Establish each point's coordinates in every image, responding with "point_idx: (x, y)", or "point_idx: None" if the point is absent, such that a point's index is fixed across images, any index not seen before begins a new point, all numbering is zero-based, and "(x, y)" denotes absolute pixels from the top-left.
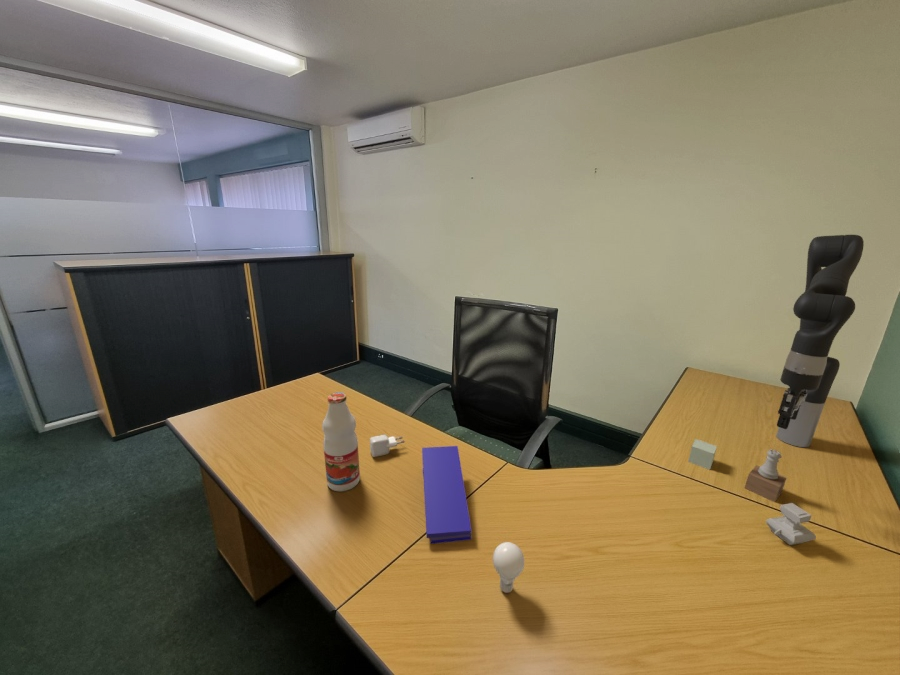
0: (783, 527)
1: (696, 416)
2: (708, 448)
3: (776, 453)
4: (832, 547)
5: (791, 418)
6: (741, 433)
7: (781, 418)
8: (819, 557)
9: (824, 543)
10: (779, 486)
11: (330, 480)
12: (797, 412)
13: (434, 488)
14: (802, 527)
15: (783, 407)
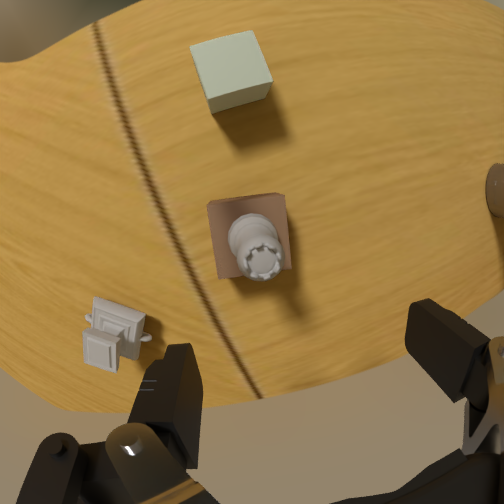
0: (92, 327)
1: (435, 23)
2: (227, 74)
3: (261, 267)
4: None
5: (408, 332)
6: (458, 108)
7: (134, 414)
8: None
9: None
10: (222, 277)
11: None
12: (436, 379)
13: None
14: (127, 346)
15: (134, 501)
